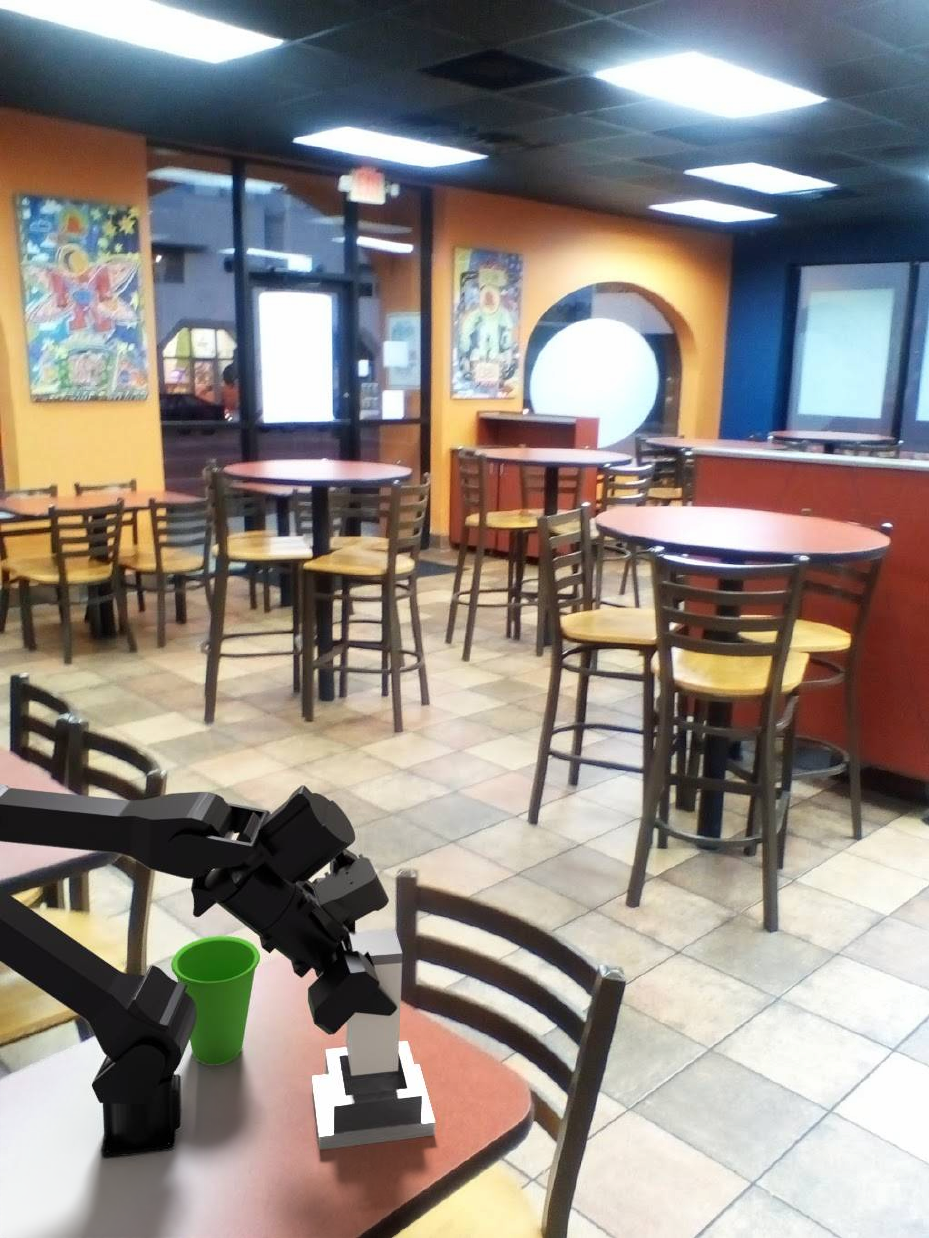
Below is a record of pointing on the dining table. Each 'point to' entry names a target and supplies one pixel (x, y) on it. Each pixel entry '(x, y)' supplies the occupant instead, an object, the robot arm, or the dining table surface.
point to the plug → (370, 1034)
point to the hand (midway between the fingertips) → (387, 996)
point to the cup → (218, 993)
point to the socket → (370, 1103)
